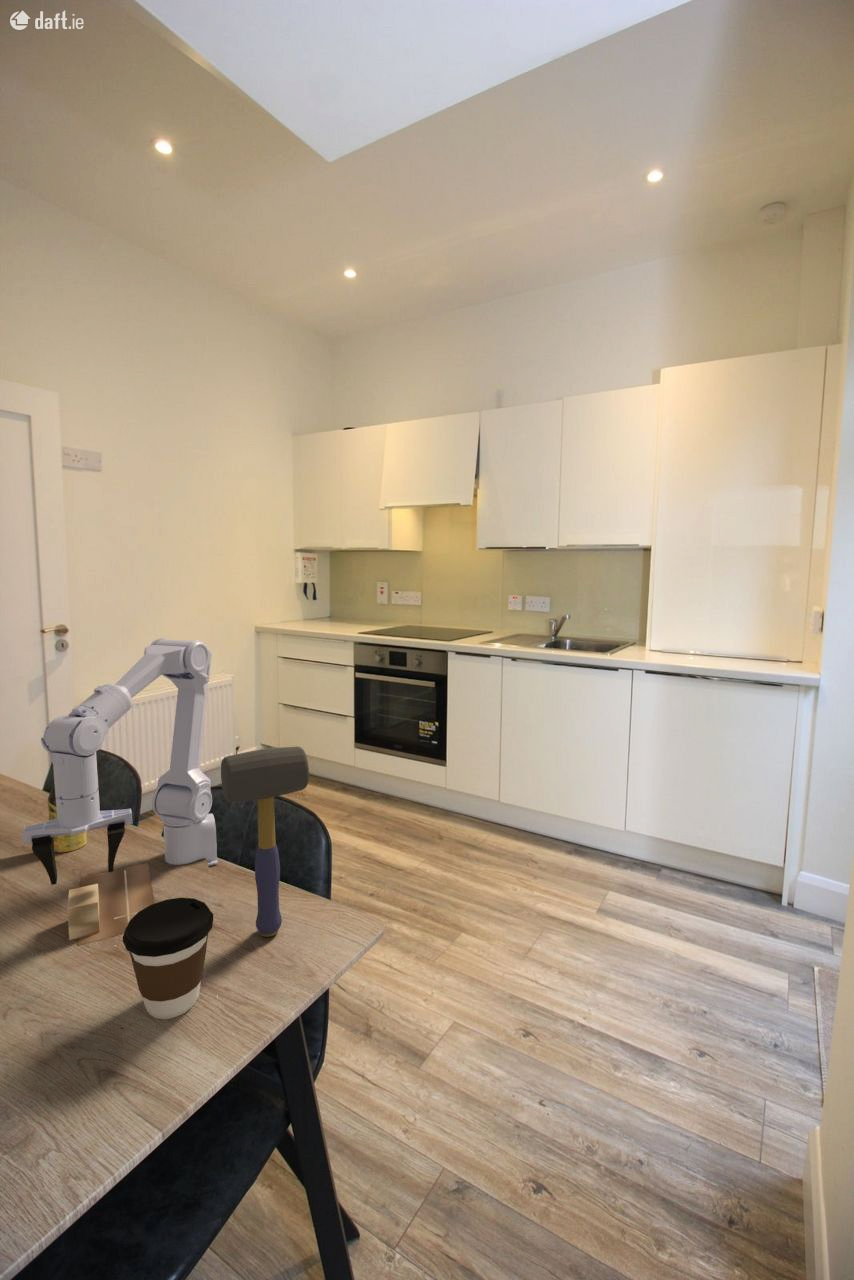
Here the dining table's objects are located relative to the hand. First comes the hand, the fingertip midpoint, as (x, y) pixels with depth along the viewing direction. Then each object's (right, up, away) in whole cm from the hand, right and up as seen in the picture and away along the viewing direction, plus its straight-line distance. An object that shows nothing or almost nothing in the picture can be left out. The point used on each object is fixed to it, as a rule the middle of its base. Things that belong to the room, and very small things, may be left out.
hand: (83, 875), depth 92 cm
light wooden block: (0, -9, 0) cm, 9 cm away
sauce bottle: (-18, -6, +26) cm, 32 cm away
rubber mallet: (+29, -10, +1) cm, 31 cm away
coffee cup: (+20, -12, -14) cm, 27 cm away
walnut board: (+2, -9, +8) cm, 11 cm away
